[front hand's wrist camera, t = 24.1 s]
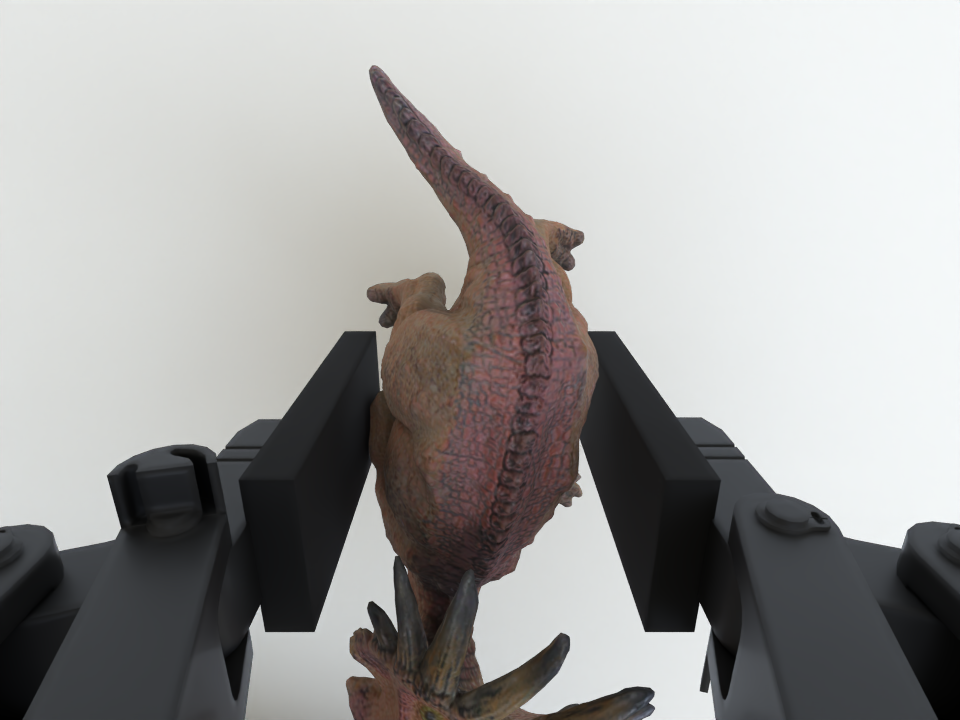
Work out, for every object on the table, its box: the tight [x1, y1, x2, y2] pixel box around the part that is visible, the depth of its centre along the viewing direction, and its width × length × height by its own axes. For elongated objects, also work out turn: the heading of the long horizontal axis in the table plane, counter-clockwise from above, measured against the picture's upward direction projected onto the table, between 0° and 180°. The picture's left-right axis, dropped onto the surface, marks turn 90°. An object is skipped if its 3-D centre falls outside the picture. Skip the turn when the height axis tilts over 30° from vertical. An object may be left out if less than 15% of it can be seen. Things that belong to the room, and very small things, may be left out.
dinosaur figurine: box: [346, 66, 655, 720], centre depth 11 cm, size 14×6×9 cm, turn 179°
